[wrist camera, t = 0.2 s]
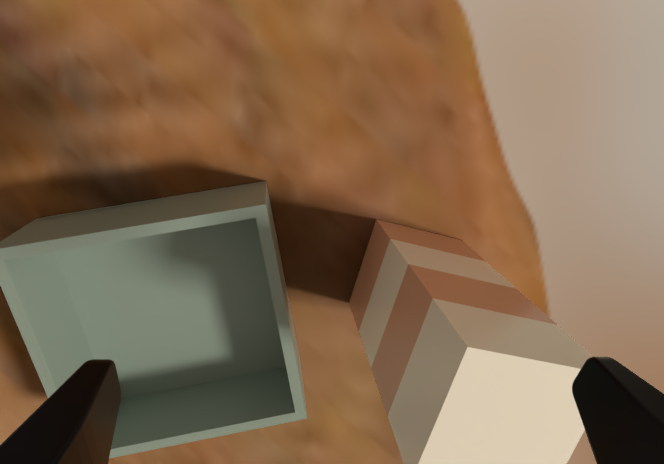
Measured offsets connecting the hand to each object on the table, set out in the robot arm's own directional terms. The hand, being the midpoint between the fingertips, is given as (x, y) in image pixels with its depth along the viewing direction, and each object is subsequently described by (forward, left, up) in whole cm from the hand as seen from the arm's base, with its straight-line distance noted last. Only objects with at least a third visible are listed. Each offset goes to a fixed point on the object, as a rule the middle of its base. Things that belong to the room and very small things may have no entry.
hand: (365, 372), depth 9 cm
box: (-9, +1, -15) cm, 18 cm away
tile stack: (0, -7, -15) cm, 17 cm away
